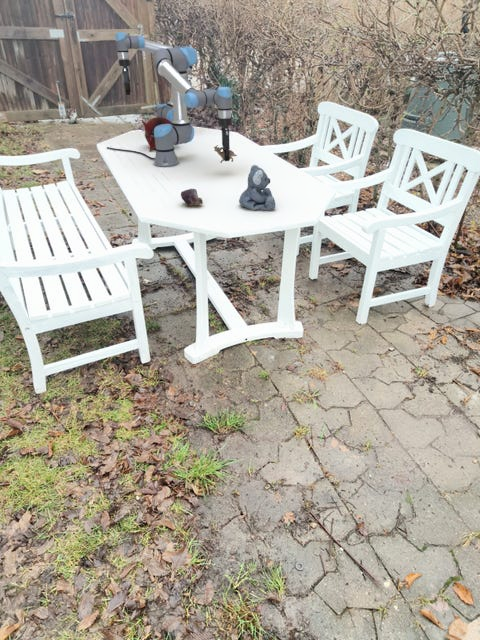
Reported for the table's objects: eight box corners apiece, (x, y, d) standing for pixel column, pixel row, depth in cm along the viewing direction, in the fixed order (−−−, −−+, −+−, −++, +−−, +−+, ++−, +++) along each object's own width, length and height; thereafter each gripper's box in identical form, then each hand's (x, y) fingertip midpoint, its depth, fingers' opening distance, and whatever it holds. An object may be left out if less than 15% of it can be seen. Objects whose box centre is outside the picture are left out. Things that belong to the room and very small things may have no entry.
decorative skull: (144, 123, 333) (138, 119, 309) (175, 116, 332) (171, 112, 308) (152, 153, 340) (146, 152, 316) (182, 146, 339) (179, 144, 315)
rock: (196, 202, 238) (178, 205, 233) (194, 185, 234) (176, 188, 230) (205, 205, 228) (187, 208, 224) (203, 188, 224) (185, 191, 220)
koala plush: (276, 211, 223) (277, 171, 212) (240, 212, 222) (240, 172, 211) (271, 199, 237) (272, 161, 226) (237, 200, 236) (237, 162, 225)
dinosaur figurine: (215, 163, 265) (215, 146, 260) (214, 160, 270) (213, 144, 265) (238, 161, 267) (238, 145, 262) (236, 159, 272) (236, 143, 267)
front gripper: (234, 120, 248) (234, 163, 261) (229, 114, 263) (229, 155, 276) (220, 121, 247) (222, 164, 260) (216, 115, 262) (217, 156, 275)
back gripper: (129, 60, 299) (133, 95, 311) (130, 57, 320) (134, 90, 332) (117, 60, 298) (122, 96, 310) (119, 57, 319) (123, 91, 331)
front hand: (226, 159), depth 268 cm, fingers closed on dinosaur figurine, 5 cm apart
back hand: (128, 93), depth 321 cm, fingers open, 13 cm apart
